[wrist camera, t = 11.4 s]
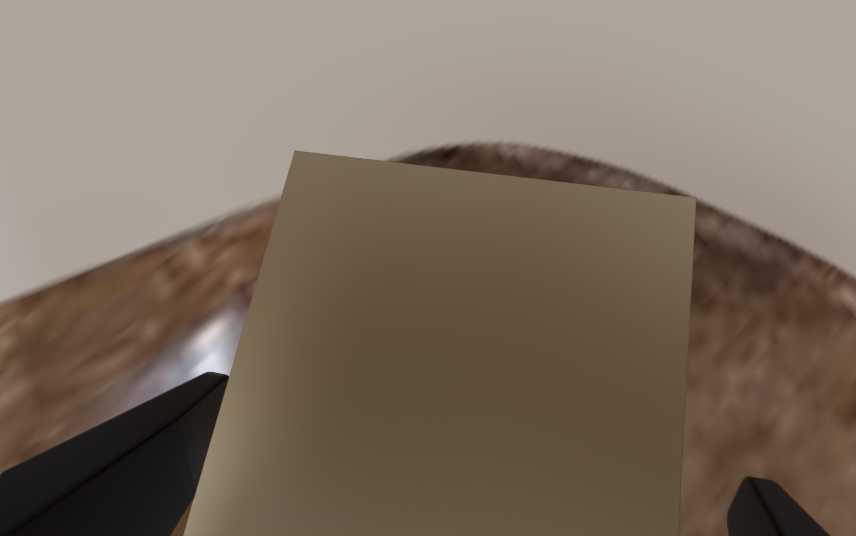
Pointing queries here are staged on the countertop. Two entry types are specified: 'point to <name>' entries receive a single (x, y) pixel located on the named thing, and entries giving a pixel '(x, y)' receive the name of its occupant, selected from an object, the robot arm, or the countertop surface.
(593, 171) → the countertop surface
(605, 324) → the brass post
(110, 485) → the robot arm
